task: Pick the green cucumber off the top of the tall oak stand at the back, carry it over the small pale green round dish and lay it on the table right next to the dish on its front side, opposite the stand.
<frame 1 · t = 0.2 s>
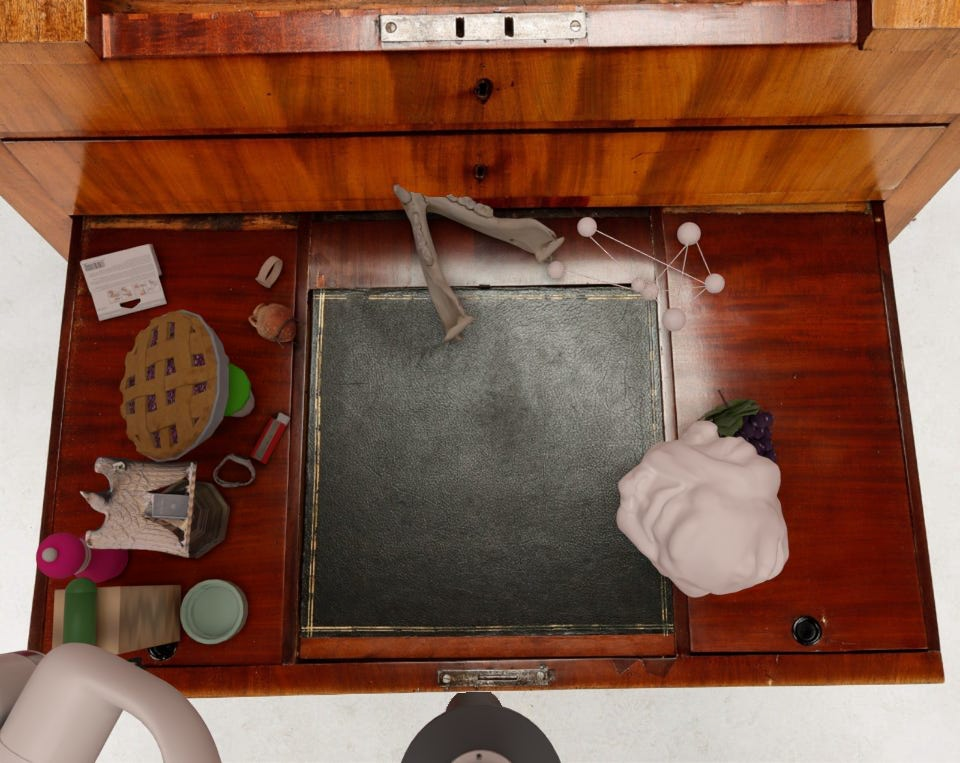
hand: (92, 674, 95), 36 cm above the table, tool pointing down, fingers open, 9 cm apart
molecule model: (625, 226, 142), point 4 cm above the table
cup: (240, 403, 138), on the table, touching pie, miniature
pepper mill: (108, 558, 133), on the table
miniature: (196, 364, 136), point 4 cm above the table, touching cup
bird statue: (208, 514, 135), on the table
oak stand: (153, 614, 131), on the table
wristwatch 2: (237, 487, 135), point 1 cm above the table
head sculpture: (777, 569, 116), point 19 cm above the table
pot: (292, 307, 138), point 4 cm above the table
pale green round dish: (218, 610, 132), on the table
lighter: (257, 461, 136), point 1 cm above the table
cucumber: (86, 621, 108), point 24 cm above the table, touching oak stand
ink cartridge box: (116, 250, 140), point 3 cm above the table
jawbone: (456, 249, 145), on the table
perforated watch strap: (274, 276, 143), on the table
pie: (188, 388, 130), point 9 cm above the table, touching cup
fruit: (760, 478, 135), point 3 cm above the table
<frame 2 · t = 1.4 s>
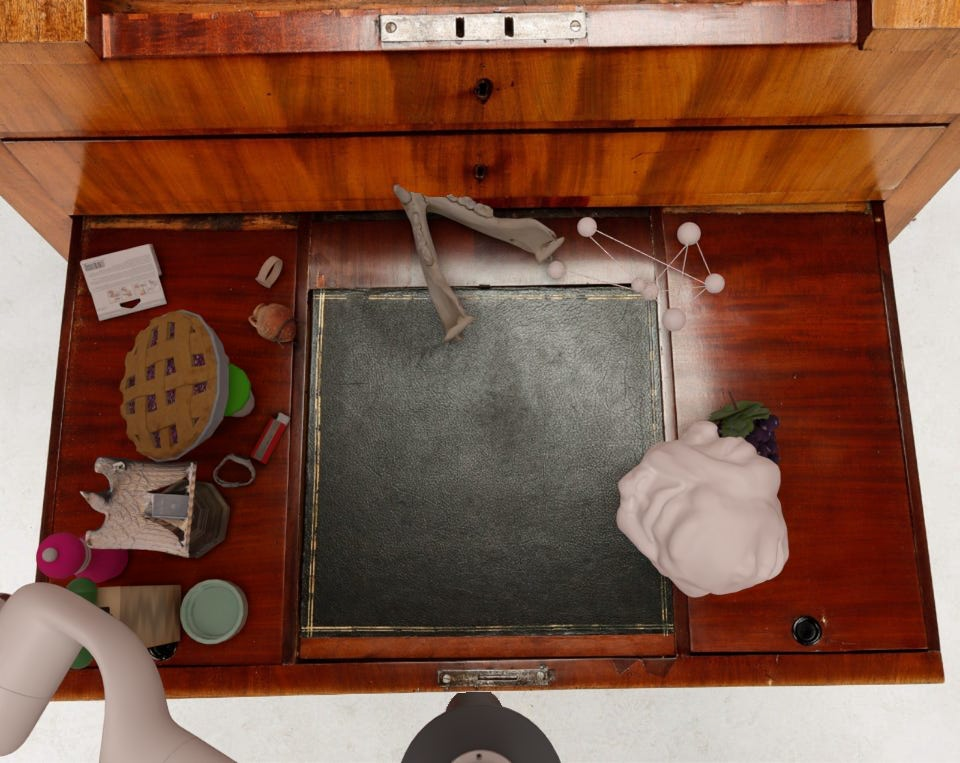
hand: (64, 623, 102), 30 cm above the table, tool pointing down, fingers open, 9 cm apart
fruit: (760, 480, 136), point 2 cm above the table
everything else where it was.
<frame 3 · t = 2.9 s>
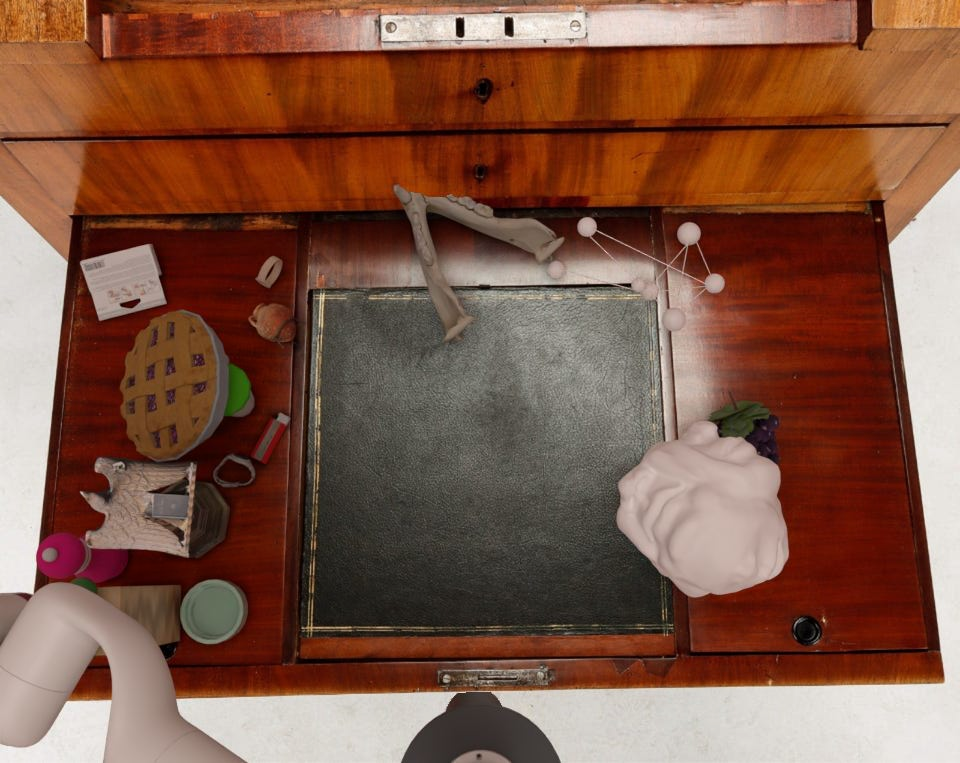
hand: (84, 622, 107), 24 cm above the table, tool pointing down, fingers closed on cucumber, 3 cm apart
cucumber: (86, 621, 108), point 24 cm above the table, touching gripper, oak stand
everything else where it was.
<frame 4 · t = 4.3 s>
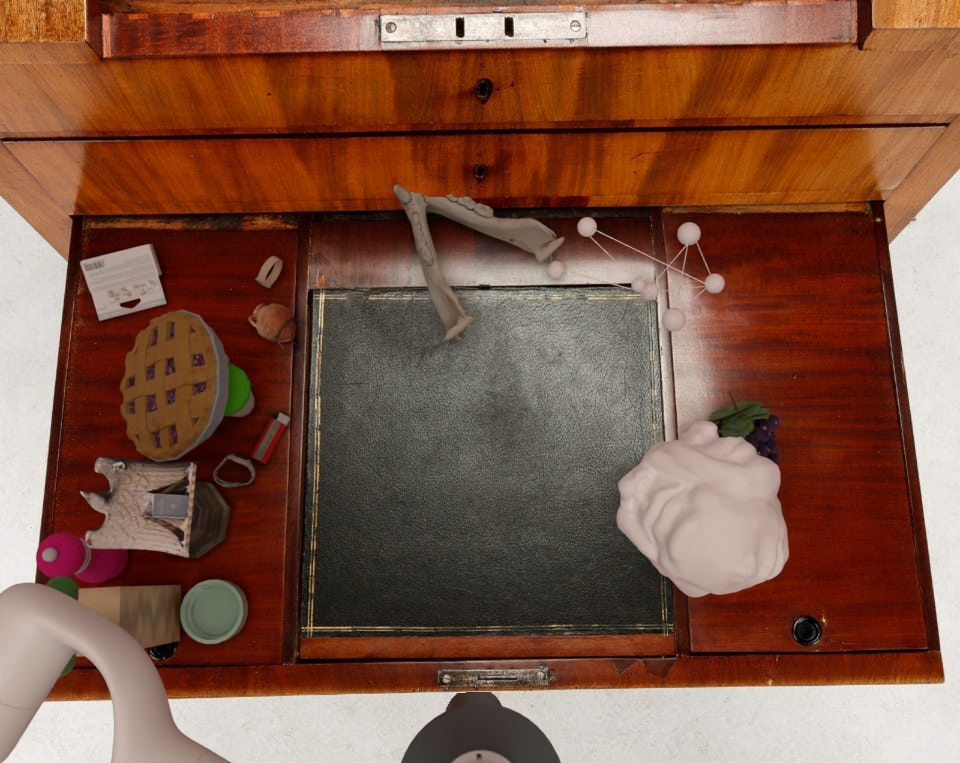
hand: (64, 625, 97), 35 cm above the table, tool pointing down, fingers closed on cucumber, 3 cm apart
cucumber: (66, 625, 98), point 34 cm above the table, touching gripper
everything else where it was.
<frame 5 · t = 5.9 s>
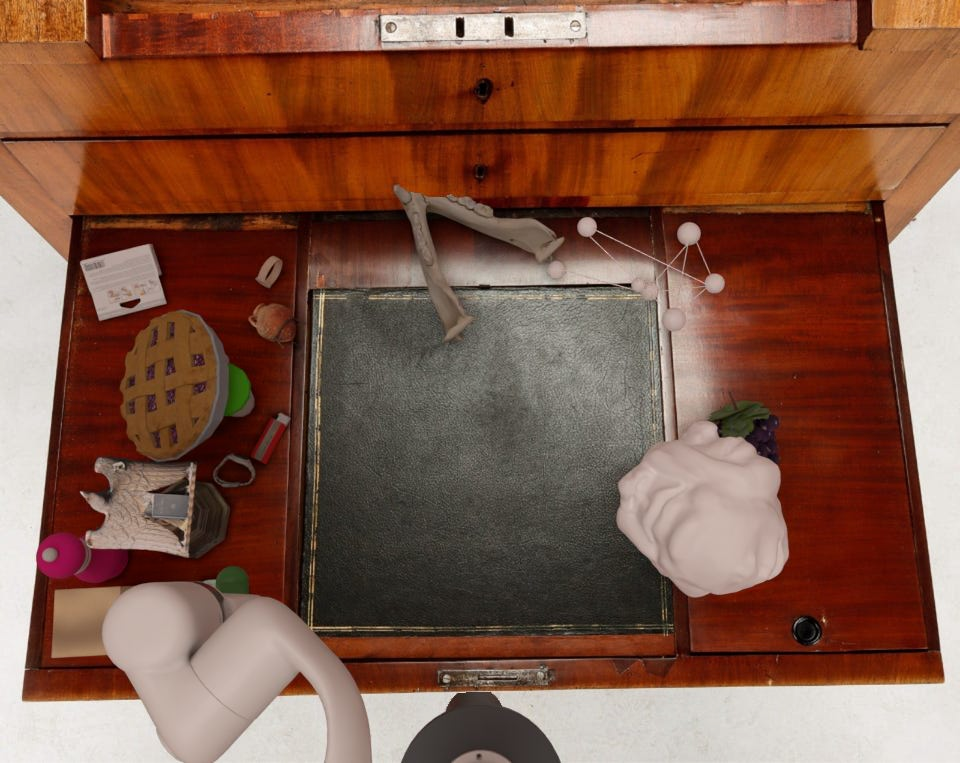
hand: (235, 613, 101), 31 cm above the table, tool pointing down, fingers closed on cucumber, 3 cm apart
cucumber: (236, 613, 102), point 31 cm above the table, touching gripper
everything else where it was.
when the fingers open (0 cm above the table, at t = 10.5 s): cucumber stays where it is, on the table.
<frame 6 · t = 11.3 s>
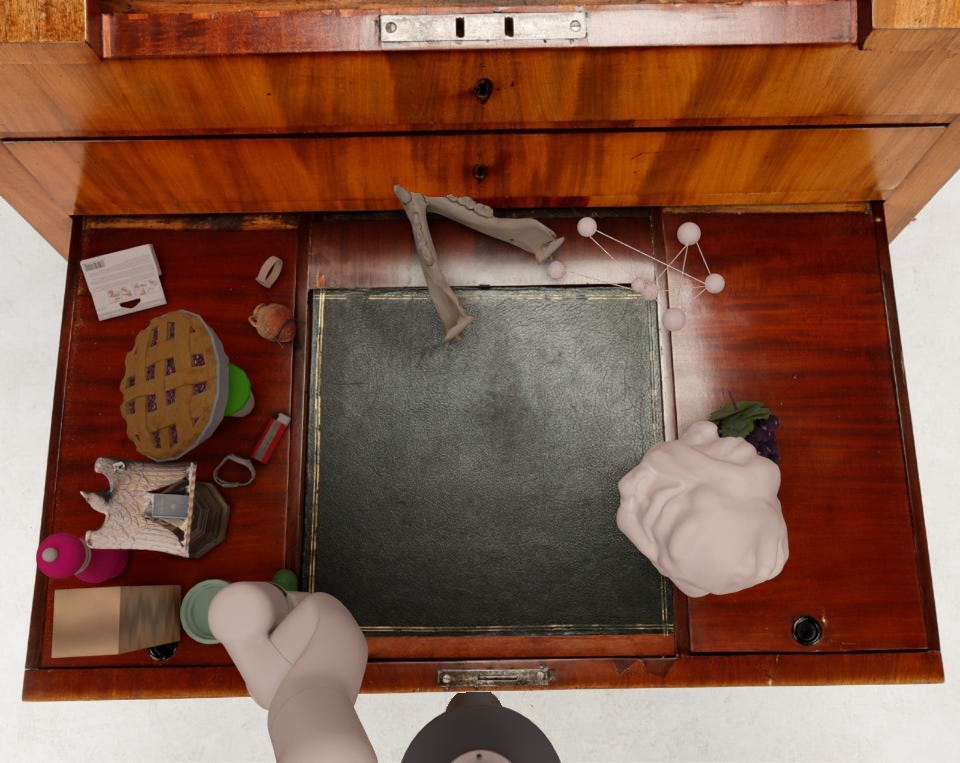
hand: (287, 607, 130), 2 cm above the table, tool pointing down, fingers open, 9 cm apart
cucumber: (289, 605, 132), on the table, tilted 9°
everything else where it was.
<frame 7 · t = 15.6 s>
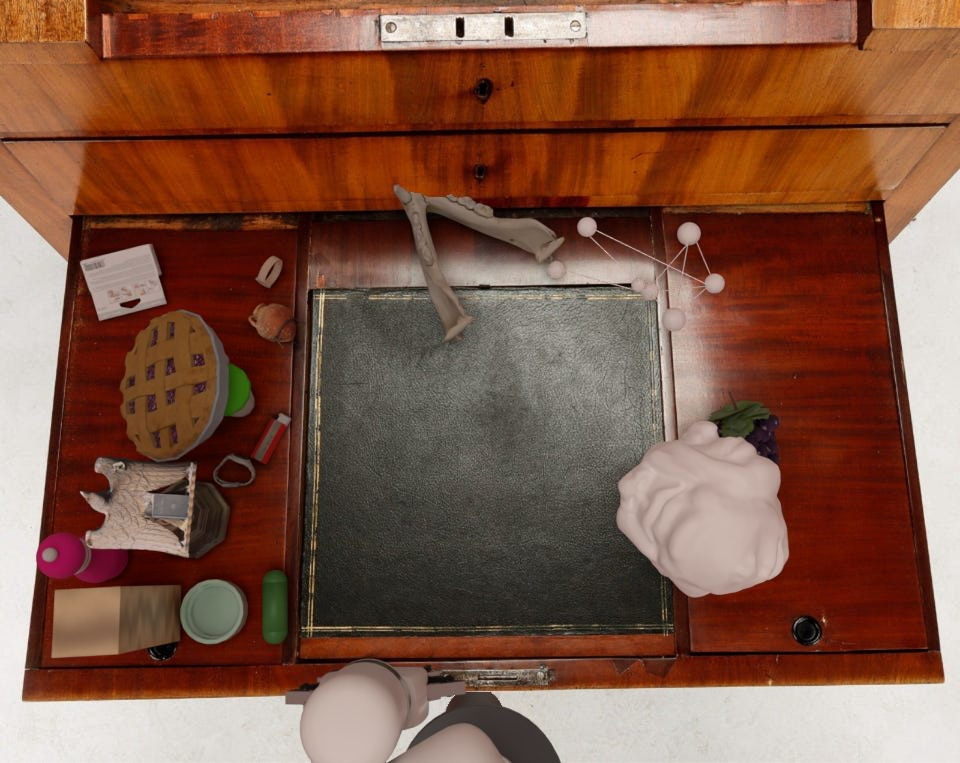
hand: (382, 682, 93), 38 cm above the table, tool pointing down, fingers open, 9 cm apart
cucumber: (286, 605, 131), point 1 cm above the table, tilted 55°
everything else where it was.
at the end: cucumber inside the target area on the table beside the pale green round dish (0.8 cm from its centre), point 0.8 cm above the table; the gripper is holding nothing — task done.
